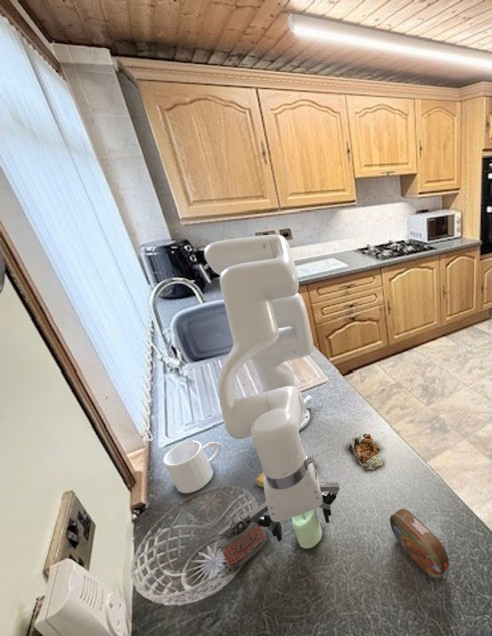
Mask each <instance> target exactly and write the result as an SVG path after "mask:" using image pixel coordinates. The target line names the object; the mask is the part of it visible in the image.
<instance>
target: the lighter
mask: <svg viewBox="0 0 492 636" xmlns="http://www.w3.org/2000/svg"><path fill="white" fill-rule="evenodd" d="M250 513H251V512H250V511H249V510H246V511H244V513H242V514H241V515H236V516H235V517H234V518H233V519H232V521H231V522H230V523H229V524H228V525H226V526H225V527H223V528H222V529H221V530H219V531H218V533H217V536H218V539H217V541H216V545H217V547H218V549H220V550H221V553H222V555H223V556H224V559H225V560H226V565H227V567H228V568H229V570H235V569H237V568H239V567H240V566H241V565H243V564H244V563H246V562H248V560H250V559H251V558H253V556H255V554H257V553H258V552H259V551H260V550H261V549H262V548H263V547H264V546H265V545H266V544H267V542H268V537H267V535H266V533H265V532H264V530H263V527H262V526H258V523H254V522H253V521H251V520H250Z"/></svg>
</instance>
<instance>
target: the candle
mask: <svg viewBox="0 0 492 636" xmlns="http://www.w3.org/2000/svg"><path fill="white" fill-rule="evenodd" d="M291 524H292V527H293V530H294V533H295V536H296V540H297V542H298V544H299V546H300V547H301V548H303V549H311V548H313V547H316V545H318V543H319V542H320V541H321V540H322V536H323V530H322V526H321V522H320V519H319V516H318V512H317V508H316V509H314V510H311V511H309V512H306V513H303V514H300V515H298V516H295V517H292V518H291Z"/></svg>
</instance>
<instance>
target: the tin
mask: <svg viewBox="0 0 492 636" xmlns="http://www.w3.org/2000/svg"><path fill="white" fill-rule="evenodd" d="M389 525H390V528H391V530H392V533H393V535H394V537H395V539H396V541H397V543H399V545H400V546H401V547H402V549H404V550H405V552H406V553H408V555H409V556H410V557H411V558H412V559H413V560H414V561H415V562H416V563H417V564H418V565H419V566H420V568H421V569H422V570H423V571H424V572H425V573H426V574H427V575H428V576H429V577H430V578H433V579H434V580H440V579H441V578H442V577H443V575H444V574H445V573H447V571H448V570H449V567H450V566H449V565H450V560H449V556H448V553H447V550H446V549H445V547H444V545H443V543H442V542H441V541H440V540H439V538H438V537H437V536H436V535H435V534H434V533H433V532H432V531H431V530H430V529H429V528H428V527H427V526H426V525H425V524H424V523H423V522H422V521H420V520H419V519H418V518H417V517H416V516H415V515H414V514H413V513H412V512H411V511H409V510H408V509H406V508H400V509H398V510H397V511H396V512H395V513H393V514H391V515H390V517H389Z"/></svg>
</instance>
